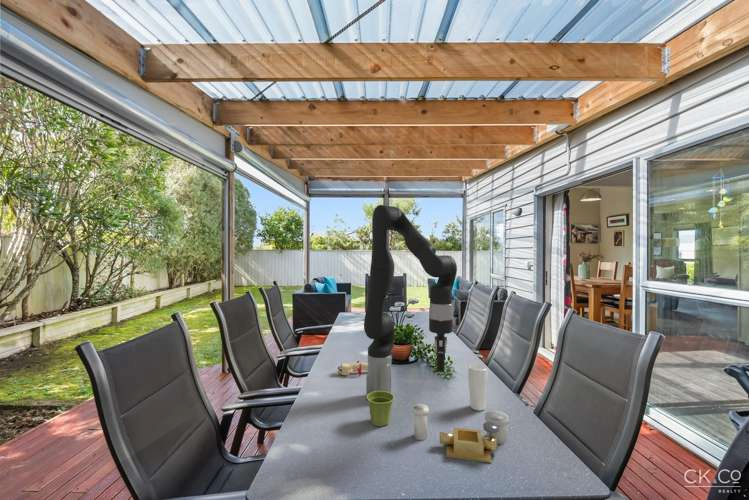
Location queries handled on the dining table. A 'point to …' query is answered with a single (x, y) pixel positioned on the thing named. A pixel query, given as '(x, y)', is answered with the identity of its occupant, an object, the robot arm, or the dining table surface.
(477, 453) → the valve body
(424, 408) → the white mushroom shaped knob
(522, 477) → the dining table surface
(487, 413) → the cylinder
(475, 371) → the white tall cylinder
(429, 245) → the robot arm
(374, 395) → the plant pot
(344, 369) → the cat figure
